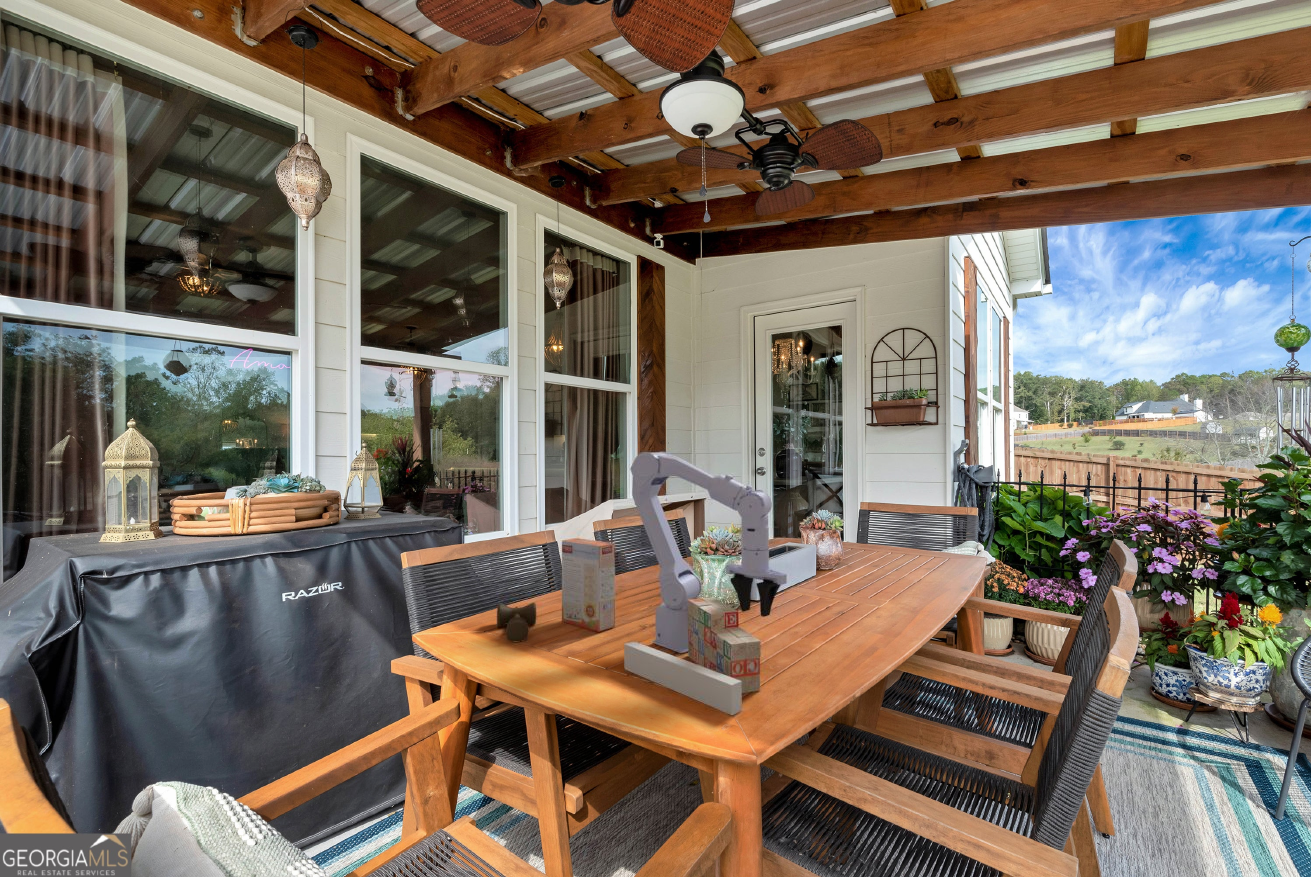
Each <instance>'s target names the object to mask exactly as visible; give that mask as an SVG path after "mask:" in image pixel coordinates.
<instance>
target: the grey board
mask: <svg viewBox="0 0 1311 877" xmlns="http://www.w3.org/2000/svg"><path fill="white" fill-rule="evenodd" d="M623 648H624V649H623V651H624V655H623V656H624V662H623V665H624V670H625V671H628V672H631V673H632V674H635V675H638V676H640V677H642V678H644V679H647V680H648V681H651V682H653V683H656V684H658V685H661V686H663V687H665V688H667V689H670V690H672V691H674V692H677V693H679V694H681V695H683V696H686V697H688V698H690V699H693V700H695V701H697V702H700V703H702V704H705V705H706V706H709V707H712V708H713V709H715V710H718V711H720V712H723V713H725V714H728V715H730V716H734V715H736V714H739V713H740V712H742V711H743V710H742V709H743V708H742V707H743V706H742V703H743V702H742V696H743V695H742V694H743V693H742V681H740V680H737V679H734V678H732V677H729V676H726V675H724V674H721V673H718V672H716V671H713V670H710V669H707V668H705V667H702V666H699V665H697V664H696V663H695V662H691V661H689V660H686V659H683V658H680V657H677V656H675V655H672V654H670V653H667V652H664V651H662V650H658V649H656V648H653V647H651V646H647V645H646V644H645V645H644V644H643V643H640V642H637V641H634V640H633V641H630V642H626V643H624V644H623Z"/></svg>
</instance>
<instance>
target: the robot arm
mask: <svg viewBox="0 0 1311 877" xmlns="http://www.w3.org/2000/svg"><path fill="white" fill-rule="evenodd" d="M629 470H630V472H631V475H632V487H631V488H632V490H631V491H632V492H631V494H632V499H633V501H634V504H635V506H636V509H637V511H638V514H639V518H640V519H641V522H642V523H643V527H644V529H645V531H646V535H647V537H648V539H649V543H650V544H651V547H652V550H653V552H654V554H655V557H656V560H657V562H658V565H659V574H658V577H657V579H658V583H659V585H660V592H659V594H660V598H661V600H662V603H660V604H659V605H658V606H657V609H656V611H655V618H654V619H655V622H654V624H655V626H654V627H655V632H654V633H655V639H654V640H652V643H653V644H654V645H657V646H660V647H662V648H665V649H668V650H671V651H673V652H677V653H680V654H684V653H687V652H688V642H689V640H688V600H690V599H698V598H699V597H700V595H701V593H702V588H703V586H702V581H701V578H700V577H699V576H698V575H697V574H696V572H694V571H693V569H692V566H691V564H689V563H688V562H687V561H685V559H684V558H683V556H682V554H681V552H680V549H679V547H678V544H677V541H676V539H675V536H674V534H673V532H672V529H671V527H670V524H669V522H668V519H667V517H666V514H665V511H664V509H663V507H662V504H661V501H660V500H659V496H658V494H659V492H660V490H661V487H662V486H663V484H665V482H666V481H667V480H668V479H669V478H670V477H678V478H680V479H682V480H685V481H687V482H689V483H691V484H694V485H696V486H698V487H700V488H702V489H705V490H707V492H708V494H709V497H710V499H712V500H714V501H716V502H718V503H720V504H722V505H724V506H726V507H728V508H730V509H732V510H733V511H737V513H738V514H739V516H740V517H741V527H740V529H741V535H740V536H741V550H740V551H741V552H740V553H741V556H740V557H741V564H735V563H729V564H725V575H733V577H731V578H730V583H731V585H732V586H733V589H734V591H735V592H736V596H737V599H738V602H739V606H740V610H741V612H747V611H750V609H751V600H752V599H751V597H752V596H751V593H752V588H753V587H752V586H753V582H754V580H760V582H757V583H756V588H757V591H758V596H759V607H760V609H759V610H760V616H761V617H764V618H765V617H768V616H770V614H771V610H772V605H773V602H774V599H775V596H776V595H777V592H778V591H779V589H780V587H781V585H782V586H783V585H785V584H787V582H788V581H787V578H788V577H787V576H788V575H787V573H783V572H779V571H777V570H773V569H772V568H770V559H769V558H770V555H769V554H770V550H769V548H770V544H769V542H770V540H769V539H770V537H769V535H770V531H769V530H770V528H769V515H768V514H769V513H770V512H771V510H772V504H773V503H772V499H771V498H770V496H769V494H767V493H766V492H765V491H764V490H762V489H755V490H753V486H752V485H750V484H747V485H746V484H743V483H741V482H739V481H736V480H734V476H733V475H731V474H726V475H725V474H719V475H717V476H714V475H712V474H710V473H708V472H706V471H705V470H702V469H701V468H699V467H697V466H695V465H694V464H692V463H690V462H688V461H686V460H684V459H683V458H682V457H681V458H680V457H679V456H678V455H674V454H670V453H668V451H667V452H666V451H657V452H648V451H644V452H643V451H642V452H640V453H639V454H638V455H637V456H635V459H634V460H633V463H632V465H631V466H630V469H629Z"/></svg>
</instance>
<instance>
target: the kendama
mask: <svg viewBox="0 0 1311 877" xmlns="http://www.w3.org/2000/svg"><path fill="white" fill-rule="evenodd" d="M536 622H537V603H536V602H531V603H528V604H527V605H525V606H522V607H518V606H515V607H510V606H508V605H506V604H504V603H502V602H498V604H497V608H496V626H497V628H498V627H501V628H503V627H504V626H506V625H507V626H506V630H505V637H506V639H507V640H508V641H509V640H510V641H509V642H511V641H522V640H524V641H525V640H526V639H527V637H528V636H529V633H530V630H529V625H531V626H535V625H536ZM502 626H503V627H502ZM522 642H523V641H522Z"/></svg>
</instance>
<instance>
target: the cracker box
mask: <svg viewBox="0 0 1311 877" xmlns="http://www.w3.org/2000/svg"><path fill="white" fill-rule="evenodd" d="M615 561H616V543H613V542H608V541H599V540H594V539H593V540H591V539H586V538H579V537H578V538H577V537H576V538H570V539H564V540H561V622H562V623H567V624H570V625H574V626H578V627H579V628H583V629H587V630H591V631H594V632H597V633H600V632H603V631H606V630H611V629H613V628H615V627H616V562H615Z"/></svg>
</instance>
